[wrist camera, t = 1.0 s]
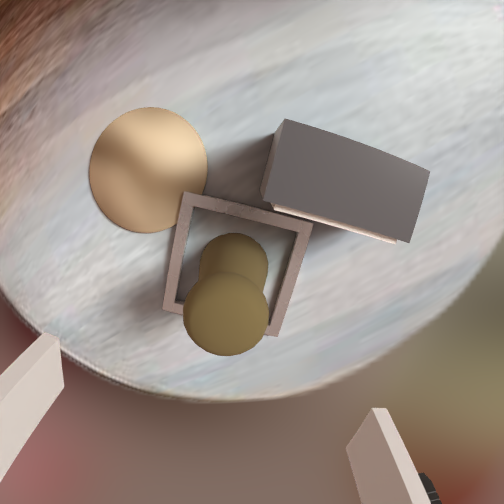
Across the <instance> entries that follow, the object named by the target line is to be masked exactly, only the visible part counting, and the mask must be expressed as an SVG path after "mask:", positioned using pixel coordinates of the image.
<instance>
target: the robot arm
mask: <svg viewBox="0 0 504 504" xmlns="http://www.w3.org/2000/svg"><path fill="white" fill-rule="evenodd" d="M63 388H64V381H63V374H62V364H61V354H60V342H59V338H58V337H55V336H53V335H50V334H48V333H46V332H44V333H43V334H42V335H41V336H40V337H39V338H38V339H37V340H36V341H35V342H34V343H33V344H31V346H29V347H28V348H27V349H26V350H25V351H24V352H23V353H22V354H21V355H20V356H19V357H18V358H17V359H16V360H15V361H14V362H13V363H12V364H11V365H10V366H9V367H8V368H7V369H6V370H5V371H4V372H3V373H2V374H1V375H0V482H1V480H2V478H3V477H4V475H5V474H6V472H7V470H8V469H9V467H10V466H11V464H12V462H13V461H14V459H15V458H16V456H17V455H18V453H19V452H20V450H21V449H22V447H23V445H24V444H25V442H26V441H27V439H28V438H29V436H30V435H31V433H32V432H33V431H34V429H35V428H36V426H37V425H38V423H39V422H40V420H41V419H42V417H43V416H44V414H45V413H46V412H47V410H48V409H49V407H50V406H51V405H52V403H53V402H54V400H55V399H56V397H57V396H58V395H59V394H60V392H61V391H62V389H63ZM346 451H347V454H348V458H349V461H350V464H351V468H352V471H353V475H354V478H355V482H356V485H357V489H358V492H359V495H360V499H361V503H362V504H442V503H441V501H440V500H439V496H438V494H437V493H436V490H435V488H434V486H433V483H432V481H431V480H430V479H429V478H428V477H427V476H426V475H425V474H424V473H419V474H418V473H417V471H416V469H415V467H414V465H413V463H412V461H411V458H410V456H409V454H408V452H407V450H406V448H405V446H404V443H403V441H402V439H401V437H400V435H399V433H398V431H397V429H396V427H395V425H394V423H393V421H392V419H391V417H390V415H389V413H388V411H387V409H386V408H372V409H371V410H370V412H369V414H368V415H367V417H366V418H365V420H364V421H363V423H362V425H361V426H360V428H359V429H358V431H357V432H356V434H355V435H354V437H353V438H352V440H351V441H350V442H349V444H348V445H347V447H346Z"/></svg>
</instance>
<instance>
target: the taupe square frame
mask: <svg viewBox="0 0 504 504" xmlns="http://www.w3.org/2000/svg"><path fill="white" fill-rule="evenodd" d="M194 206H196V207H200V208H204V209H208V210H212V211H216V212H221V213H225V214H229V215H233V216H237V217H241V218H245V219H249V220H253V221H257V222H261V223H265V224H269V225H273V226H276V227H280V228H284V229H288V230H292V231H296V232H297V234H296V237H295V241H294V244H293V248H292V251H291V254H290V258H289V261H288V264H287V268H286V271H285V274H284V277H283V281H282V284H281V287H280V290H279V294H278V297H277V300H276V303H275V306H274V310H273V313H272V316H271V319H270V322H268V326H267V328H266V330H265V333H264V334H266V335H270V336H275V337H278V334H279V331H280V328H281V325H282V322H283V319H284V316H285V313H286V310H287V307H288V304H289V301H290V298H291V295H292V292H293V289H294V286H295V283H296V280H297V276H298V273H299V270H300V267H301V264H302V260H303V257H304V254H305V251H306V248H307V244H308V241H309V238H310V234H311V231H312V228H313V223H312V222H309V221H305V220H302V219H298V218H294V217H291V216H287V215H283V214H279V213H275V212H272V211H268V210H264V209H260V208H256V207H252V206H248V205H244V204H240V203H236V202H232V201H228V200H224V199H220V198H215V197H211V196H207V195H203V194H196V193H192V192H188V191H184V194H183V198H182V203H181V208H180V213H179V217H178V222H177V227H176V232H175V238H174V243H173V248H172V254H171V259H170V265H169V271H168V276H167V282H166V289H165V295H164V301H163V308H162V310H166V311H169V312H173V313H177V314H181V315H183V306H184V303H185V302H184V301H180V300H177V299H176V296H177V291H178V285H179V280H180V274H181V269H182V264H183V258H184V253H185V248H186V243H187V238H188V234H189V229H190V224H191V219H192V215H193V210H194Z"/></svg>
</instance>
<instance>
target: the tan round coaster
mask: <svg viewBox="0 0 504 504" xmlns="http://www.w3.org/2000/svg"><path fill="white" fill-rule="evenodd" d="M207 167H208V166H207V156H206V152H205V148H204V145H203V143H202V140H201V138H200V137H199V135H198V133H197V132H196V130H195V129H194V128H193V127H192V126H191V124H190V123H189V122H188V121H186V120H185V119H184V118H182V117H181V116H179V115H177V114H176V113H174V112H171V111H169V110H166V109H161V108H154V107H148V108H140V109H135V110H132V111H130V112H127V113H125V114H123V115H121V116H120V117H118V118H117V119H115V120H114V121H113V122H112V123H111V124H110V125H109V126H108V127H107V128H106V129H105V130H104V131H103V133H102V134H101V136H100V137H99V139H98V141H97V143H96V145H95V147H94V150H93V152H92V156H91V161H90V184H91V188H92V192H93V195H94V197H95V200H96V202H97V204H98V205H99V207H100V208H101V210H102V211H103V212H104V213H105V215H106V216H107V217H108V218H109V219H111V220H112V221H113V222H114V223H116V224H117V225H119V226H121V227H123V228H125V229H128V230H131V231H135V232H140V233H151V232H158V231H162V230H165V229H167V228H170V227H172V226H174V225H175V224H177V222H178V217H179V213H180V208H181V203H182V198H183V194H184V191H188V192H192V193H196V194H202V193H203V190H204V187H205V184H206V179H207ZM194 207H195V206H194Z"/></svg>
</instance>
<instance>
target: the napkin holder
mask: <svg viewBox="0 0 504 504" xmlns="http://www.w3.org/2000/svg"><path fill="white" fill-rule="evenodd" d="M429 174H430V171H428V170H426V169H424V168H422V167H419V166H417V165H415V164H413V163H410V162H408V161H406V160H403V159H401V158H398V157H396V156H393V155H391V154H389V153H386V152H383V151H381V150H378V149H376V148H373V147H370V146H368V145H365V144H362V143H360V142H357V141H354V140H351V139H348V138H346V137H343V136H340V135H337V134H334V133H331V132H328V131H325V130H321V129H318V128H315V127H312V126H308V125H305V124H302V123H298V122H295V121H291V120H288V119H284V121H283V122H282V123H281V125H280V126H279V127H278V129H277V130H276V132H275V134H274V138H273V141H272V145H271V149H270V153H269V156H268V160H267V164H266V168H265V172H264V175H263V179H262V183H261V187H260V193H261V196H262V199H263V201H266V202H270V203H271V205H272V207H273V209H274V210H277V211H281V212H284V213H288V214H292V215H296V216H299V217H303V218H307V219H310V220H314V221H318V222H321V223H325V224H328V225H332V226H335V227H339V228H342V229H346V230H349V231H353V232H356V233H359V234H363V235H366V236H370V237H373V238H376V239H379V240H383V241H386V242H389V243H393V244H396V241H397V239H398V240H401V241H404V242H407V243H409V242H410V239H411V236H412V233H413V230H414V227H415V224H416V221H417V217H418V214H419V211H420V207H421V204H422V200H423V197H424V193H425V189H426V185H427V182H428V178H429Z"/></svg>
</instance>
